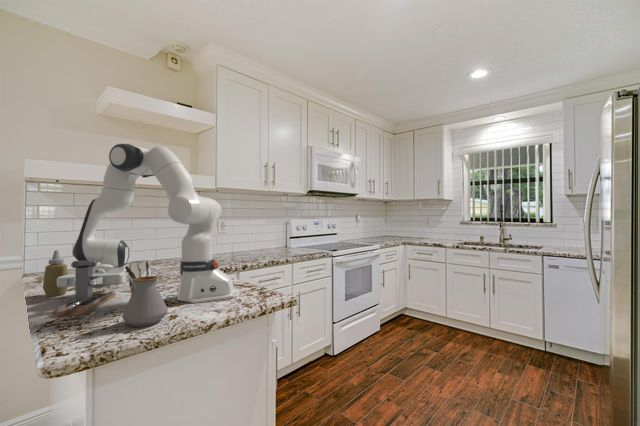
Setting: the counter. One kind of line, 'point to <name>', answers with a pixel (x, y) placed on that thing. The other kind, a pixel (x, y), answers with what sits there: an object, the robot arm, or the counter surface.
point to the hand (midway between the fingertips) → (82, 283)
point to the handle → (83, 283)
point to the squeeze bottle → (54, 276)
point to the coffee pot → (144, 302)
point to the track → (84, 305)
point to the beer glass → (138, 271)
